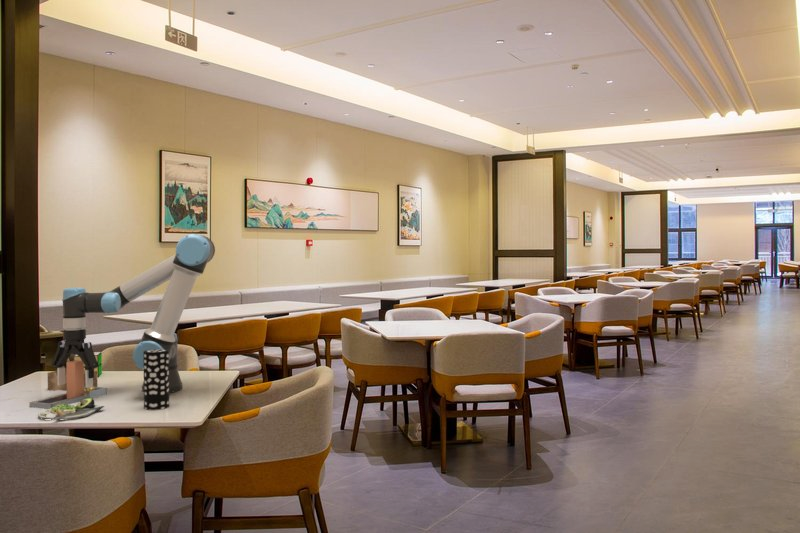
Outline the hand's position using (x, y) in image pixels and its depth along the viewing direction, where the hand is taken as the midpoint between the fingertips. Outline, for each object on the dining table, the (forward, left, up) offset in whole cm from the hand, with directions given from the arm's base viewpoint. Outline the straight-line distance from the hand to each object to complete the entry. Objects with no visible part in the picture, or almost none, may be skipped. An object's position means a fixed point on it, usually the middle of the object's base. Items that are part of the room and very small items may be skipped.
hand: (75, 385), depth 233 cm
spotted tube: (-37, 0, -5) cm, 37 cm away
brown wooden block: (+17, -14, -5) cm, 23 cm away
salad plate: (-16, +16, -6) cm, 24 cm away
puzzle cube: (+34, -38, -6) cm, 52 cm away
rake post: (0, 0, -5) cm, 5 cm away
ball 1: (0, -5, -4) cm, 6 cm away
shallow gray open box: (0, +6, -5) cm, 8 cm away
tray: (0, -6, -5) cm, 8 cm away
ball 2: (0, -8, -4) cm, 9 cm away
